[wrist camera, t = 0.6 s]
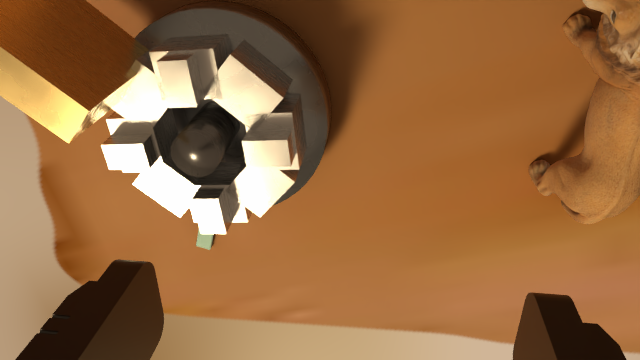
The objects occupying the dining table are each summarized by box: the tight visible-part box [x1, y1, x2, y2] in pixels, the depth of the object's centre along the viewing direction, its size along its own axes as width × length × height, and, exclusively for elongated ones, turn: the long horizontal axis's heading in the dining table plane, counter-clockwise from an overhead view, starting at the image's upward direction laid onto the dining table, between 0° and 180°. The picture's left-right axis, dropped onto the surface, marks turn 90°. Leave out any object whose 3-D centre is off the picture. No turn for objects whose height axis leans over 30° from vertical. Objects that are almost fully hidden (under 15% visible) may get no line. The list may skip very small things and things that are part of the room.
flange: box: [135, 1, 331, 206], centre depth 27 cm, size 12×12×6 cm
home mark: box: [196, 228, 214, 250], centre depth 35 cm, size 4×1×1 cm, turn 165°
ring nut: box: [0, 0, 307, 234], centre depth 24 cm, size 16×10×7 cm, turn 50°
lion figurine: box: [529, 0, 640, 224], centre depth 23 cm, size 15×5×9 cm, turn 8°
